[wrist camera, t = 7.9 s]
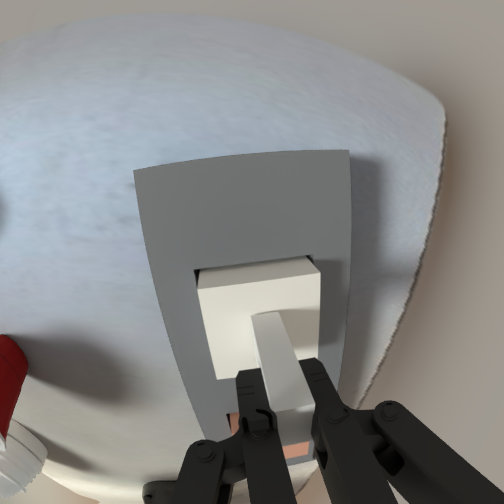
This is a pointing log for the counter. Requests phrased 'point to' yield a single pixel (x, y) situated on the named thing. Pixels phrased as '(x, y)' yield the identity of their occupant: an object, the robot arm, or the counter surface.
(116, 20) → the counter surface
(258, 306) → the offwhite key
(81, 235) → the counter surface
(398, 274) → the counter surface
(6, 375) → the plastic cup
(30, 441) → the honey pot
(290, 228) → the key console
